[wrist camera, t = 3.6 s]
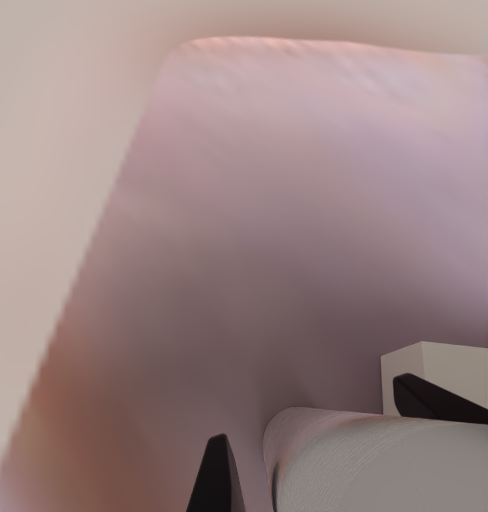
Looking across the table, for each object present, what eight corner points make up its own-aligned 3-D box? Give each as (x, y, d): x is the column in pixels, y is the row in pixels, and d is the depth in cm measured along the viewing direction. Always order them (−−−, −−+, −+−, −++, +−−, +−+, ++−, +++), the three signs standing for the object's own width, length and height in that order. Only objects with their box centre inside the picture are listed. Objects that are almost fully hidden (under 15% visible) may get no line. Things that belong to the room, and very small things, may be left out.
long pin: (335, 495, 13) (947, 1188, 2) (259, 484, 13) (295, 1024, 2) (335, 411, 14) (678, 448, 3) (265, 402, 14) (311, 403, 3)
